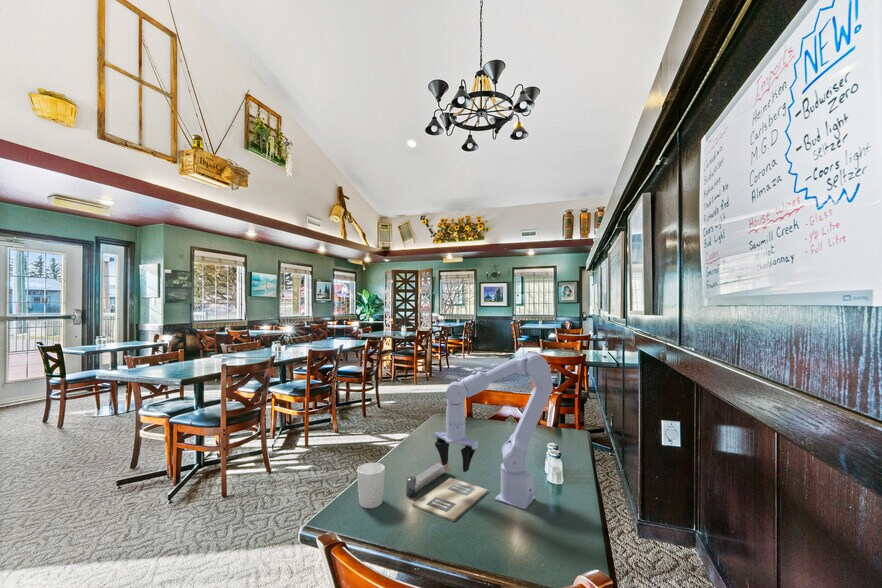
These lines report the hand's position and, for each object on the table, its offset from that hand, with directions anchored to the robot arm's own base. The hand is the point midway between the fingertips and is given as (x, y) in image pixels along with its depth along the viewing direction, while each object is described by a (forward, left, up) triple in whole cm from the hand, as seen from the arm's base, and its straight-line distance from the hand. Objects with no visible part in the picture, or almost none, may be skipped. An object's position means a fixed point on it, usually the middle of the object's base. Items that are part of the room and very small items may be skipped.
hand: (455, 467), depth 119 cm
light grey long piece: (+11, -1, -8) cm, 14 cm away
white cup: (+18, +18, -9) cm, 27 cm away
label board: (0, +2, -8) cm, 9 cm away
